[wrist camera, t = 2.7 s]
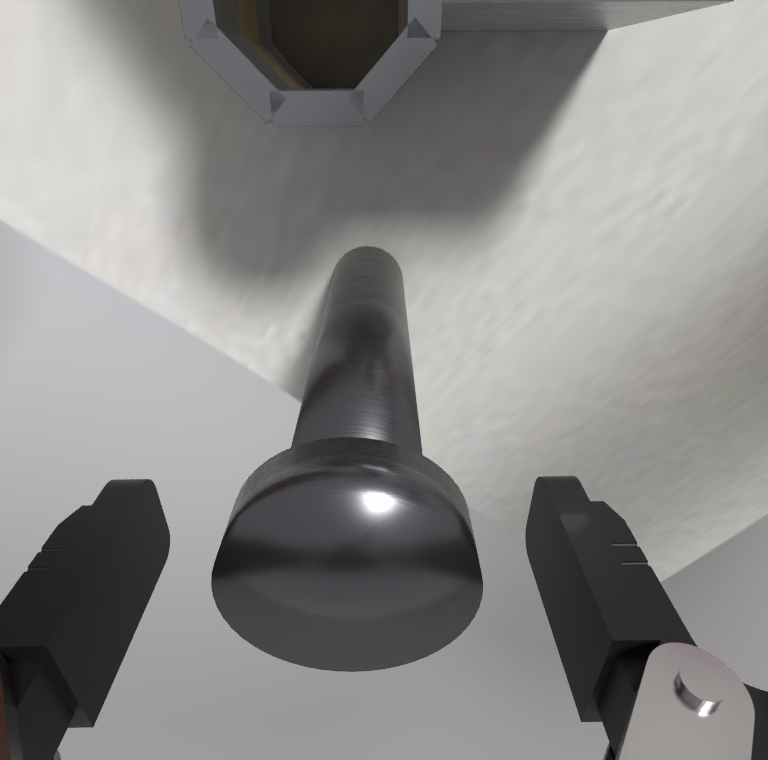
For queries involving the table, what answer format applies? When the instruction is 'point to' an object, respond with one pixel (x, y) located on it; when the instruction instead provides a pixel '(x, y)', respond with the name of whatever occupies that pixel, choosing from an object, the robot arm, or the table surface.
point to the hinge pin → (352, 505)
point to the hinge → (414, 44)
